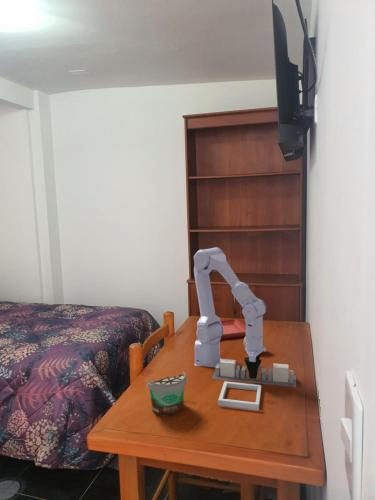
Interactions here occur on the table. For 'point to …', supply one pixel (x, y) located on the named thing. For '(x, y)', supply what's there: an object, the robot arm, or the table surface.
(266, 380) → the rail
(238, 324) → the plant saucer
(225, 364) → the block
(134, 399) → the table surface
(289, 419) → the table surface
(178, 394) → the food container
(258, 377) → the block
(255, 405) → the tray
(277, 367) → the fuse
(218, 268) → the robot arm
